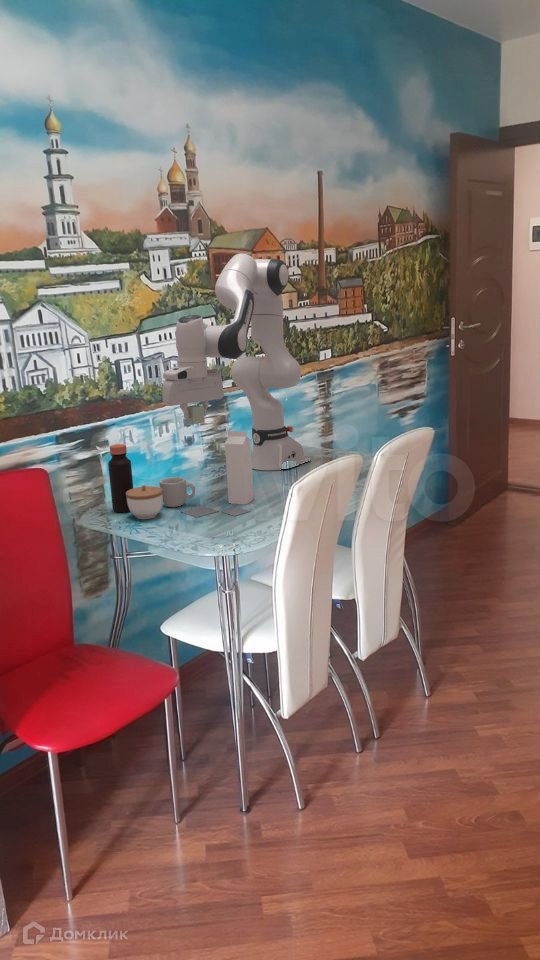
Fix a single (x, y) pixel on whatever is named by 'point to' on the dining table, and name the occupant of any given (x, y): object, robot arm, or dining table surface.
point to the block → (196, 414)
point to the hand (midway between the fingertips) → (195, 417)
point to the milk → (239, 468)
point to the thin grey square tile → (200, 511)
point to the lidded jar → (145, 501)
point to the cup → (175, 491)
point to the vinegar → (120, 477)
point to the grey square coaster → (236, 511)
